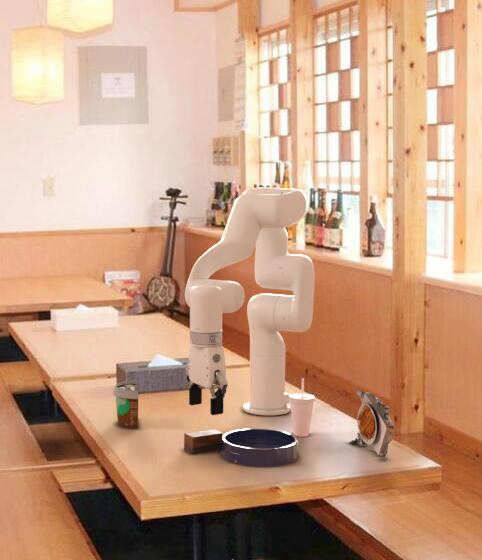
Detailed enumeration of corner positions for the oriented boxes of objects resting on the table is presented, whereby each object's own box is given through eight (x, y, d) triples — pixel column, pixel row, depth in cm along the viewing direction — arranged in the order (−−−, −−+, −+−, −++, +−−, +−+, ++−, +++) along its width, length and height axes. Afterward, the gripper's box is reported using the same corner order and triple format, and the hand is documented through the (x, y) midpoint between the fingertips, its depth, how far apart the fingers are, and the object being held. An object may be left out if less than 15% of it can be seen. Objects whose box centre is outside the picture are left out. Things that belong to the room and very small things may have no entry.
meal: (346, 443, 252) (348, 390, 250) (362, 442, 253) (364, 389, 252) (377, 461, 238) (378, 405, 236) (393, 459, 239) (395, 403, 238)
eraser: (213, 445, 249) (213, 429, 249) (222, 449, 246) (222, 433, 245) (184, 449, 245) (184, 433, 245) (192, 454, 242) (192, 437, 241)
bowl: (269, 441, 253) (269, 425, 253) (312, 460, 238) (312, 442, 238) (208, 450, 245) (208, 434, 244) (248, 470, 230) (249, 453, 229)
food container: (112, 417, 273) (112, 380, 272) (136, 417, 274) (136, 380, 273) (113, 430, 261) (113, 391, 260) (138, 430, 262) (138, 390, 260)
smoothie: (316, 432, 261) (318, 377, 260) (311, 439, 255) (312, 382, 254) (291, 430, 263) (292, 375, 262) (285, 436, 257) (286, 380, 256)
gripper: (239, 343, 239) (239, 415, 242) (200, 330, 254) (200, 398, 257) (211, 346, 236) (211, 420, 238) (173, 333, 250) (174, 402, 253)
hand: (205, 409), depth 247 cm, fingers open, 9 cm apart
